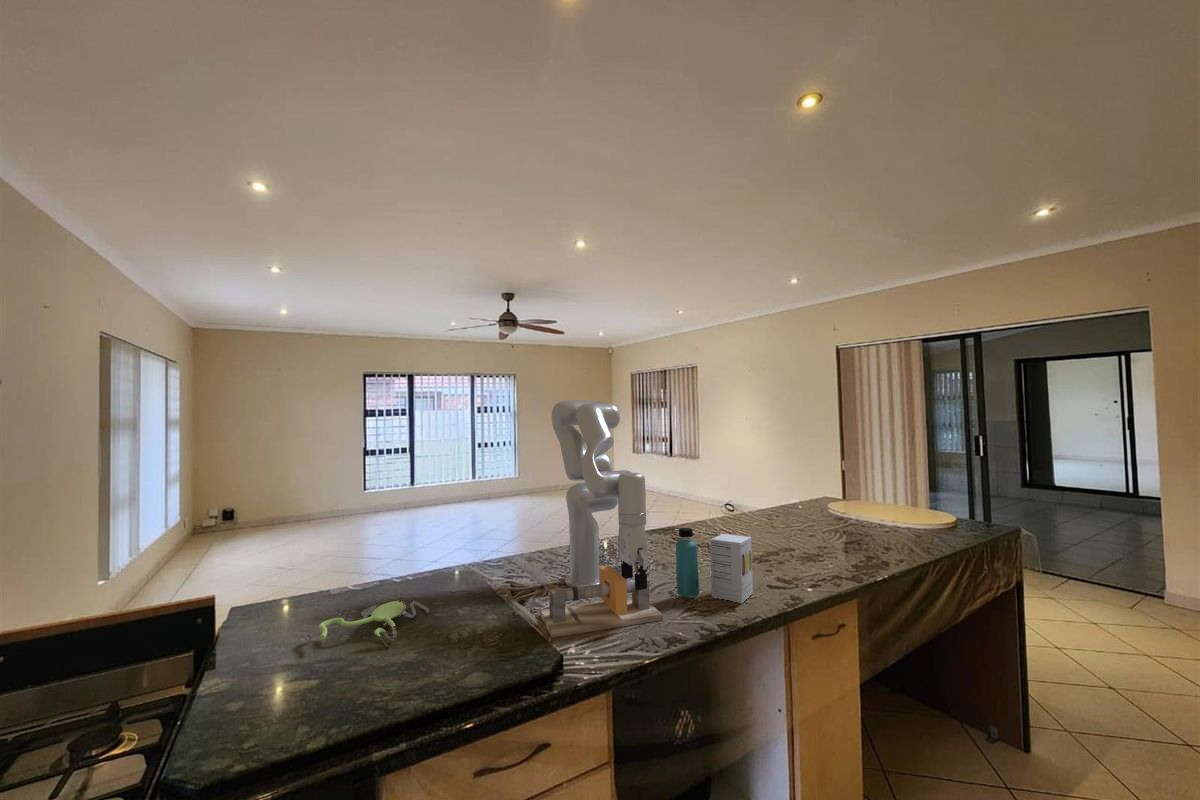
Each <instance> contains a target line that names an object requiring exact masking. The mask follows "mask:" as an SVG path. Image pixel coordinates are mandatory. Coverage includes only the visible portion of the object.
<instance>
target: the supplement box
mask: <svg viewBox="0 0 1200 800" xmlns="http://www.w3.org/2000/svg"><path fill="white" fill-rule="evenodd" d="M709 546H710V549H709V550H710V575H711V576H710V577H711V581H710V583H711V598H713V597H716V598H715V599H717V598H720V599H719V600H721V599H725V600H724V601H726V600H731V601H735V602H739V603H743V602H744V601H745V600H746V599H747V598H748V597H749V596H750V595H751V594H752V593H753V594H754V587H753V586H754V585H753V583H754V581H753V555H752V537H751V536H745V535H736V534H730V533H729V534H727V533H721V534H720V535H719V534H718V535H717V536H715V537H713V538H709ZM747 600H748V599H747ZM747 600H746V601H747ZM746 601H745V602H746ZM735 602H734V603H735ZM745 602H744V603H745ZM739 603H738V604H739ZM744 603H743V604H744Z"/></svg>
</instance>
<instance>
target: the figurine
mask: <svg viewBox="0 0 1200 800" xmlns="http://www.w3.org/2000/svg"><path fill="white" fill-rule="evenodd" d="M399 601H400V600H394V601H393V600H392V601H389V602H386V603H383V604H381V605H379V606H377V608H376V609H375V610H374V611H373V612H372V613H371V616H369V617H368V618H364V619H363V618H362V619H361V618H360V619H358V620H354V621H345V620H344V618H343V617H335V618H331V619H326V620H324V621H322V622H320V623H319V624H318V630H319V631H320V632H321V634H320V636H319V640H320V641H324V640H325V639H326V637H327V634H328V628H327V626H329V625H333V624H340V626H342V627H345V628H352V627H357V626H361V625H365V624H368V623H370V622H371V623H372V622H374V621H376V622H384V621H386V622H387V623H388V626H389V625H390V626H392V627H393V626H396V624H395V622H394V621H393V620H394V619H395V618H394V617H396V616H397V615H399V614H400V613H401V612H402V610H403V608H404V606H403V603H402V602H403V601H401V602H399ZM393 618H394V619H393ZM396 618H397V617H396ZM391 619H393V620H391ZM390 626H389V627H390ZM381 632H387V631H386V630H385V629H384V628H382V627H378V628H376V629H375V630H373V634H374V636H375V635H377V636H381V634H380V633H381Z"/></svg>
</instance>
